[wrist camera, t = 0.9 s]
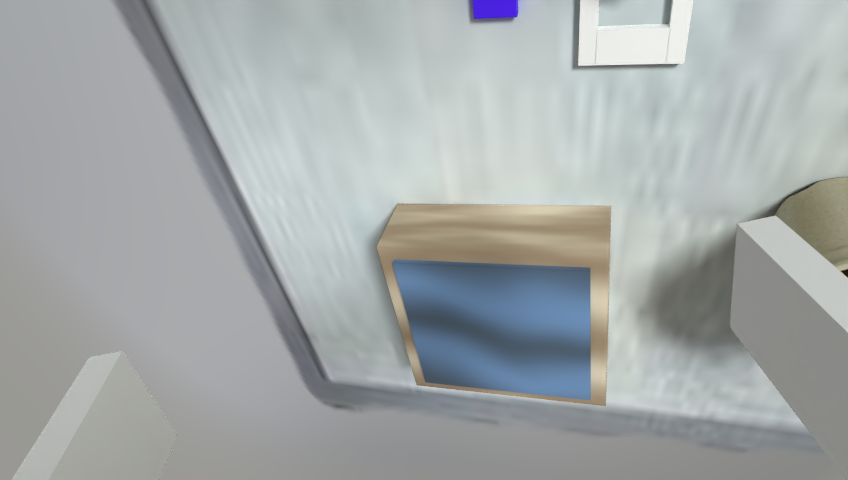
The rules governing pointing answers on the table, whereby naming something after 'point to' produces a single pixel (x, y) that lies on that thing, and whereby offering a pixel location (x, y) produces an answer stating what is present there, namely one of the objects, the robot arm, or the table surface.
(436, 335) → the plinth
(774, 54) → the table surface
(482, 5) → the building block set
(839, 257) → the flower pot
